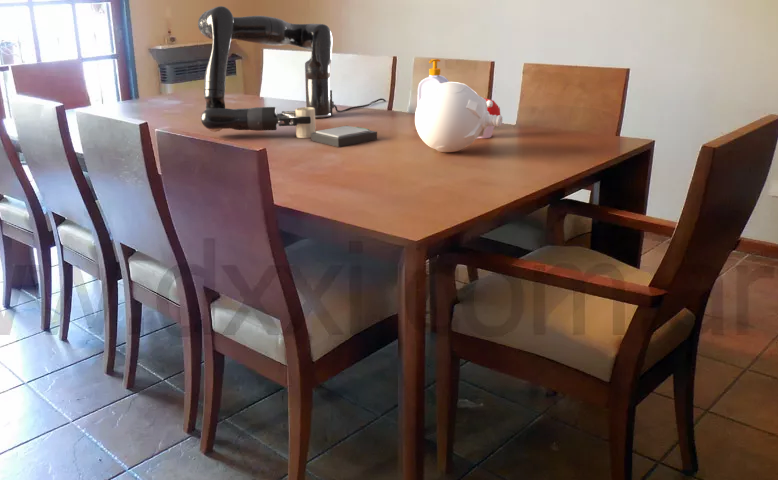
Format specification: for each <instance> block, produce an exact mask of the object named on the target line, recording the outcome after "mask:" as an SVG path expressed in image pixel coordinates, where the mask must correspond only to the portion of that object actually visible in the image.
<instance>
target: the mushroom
mask: <svg viewBox="0 0 778 480" xmlns="http://www.w3.org/2000/svg"><path fill="white" fill-rule="evenodd" d="M483 98H484V99H485V100H486V102H487V111H488V112H489V114H490V115H497V116H498V115H501V107H500V106H499V105H498V104H497V102H495V100H493V99H489V98H486V97H483ZM494 128H495V126H490V125H489V126H488V127H487V128H486V129H485V132H484V135H483V136H480V137H477V138H476V139H489V138H492V136H493V132H494Z"/></svg>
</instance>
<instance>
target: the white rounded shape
mask: <svg viewBox="0 0 778 480" xmlns="http://www.w3.org/2000/svg"><path fill="white" fill-rule="evenodd" d="M484 98H485V97H482V96H481V95H479V94H478V93H477V92H476V91H475V90H474V89H473V88H472V87H470V86H468V85H467V84H465V83H462V82H457V81H449V82H445V83H441V84H438V85H437V86H435V87H432V88H431V89H429V90H428V91H427V92H426V93H425V94H424V95H423V97H422V98H421V100H420V101H419V103H418V106H417V105H416V108H415V114H414V125H415V129H416V132H417V134H418V136H419V138H420V139H421V140H422V142H423V143H424V144H425V145H426V146H428V147H430V148H431V149H434V150H435V151H438V152H441V153H442V152H443V153H455V152H459V151H462V150H464V149H465V148H467V147H470V145H472V144H473V143H474V142H475V141H476V140H477V139H478V138H477V137H480V136H483V135H484V132H485V129H486V128H487V127H488V126H489V125H490V126H494V128H497V127H498V128H500V127H501V126H502V125H503V116H502V115H501V114H500V115H498V116H497V115H490V114H489V112H488V111H487V102H486V100H485V99H484Z"/></svg>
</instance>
